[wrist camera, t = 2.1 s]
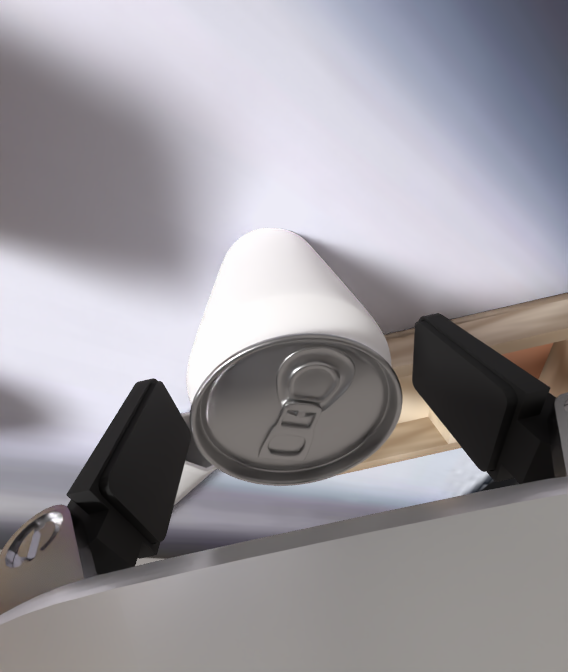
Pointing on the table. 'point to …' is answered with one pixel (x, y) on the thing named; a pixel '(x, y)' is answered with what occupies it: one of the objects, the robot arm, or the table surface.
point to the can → (288, 368)
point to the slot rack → (501, 335)
